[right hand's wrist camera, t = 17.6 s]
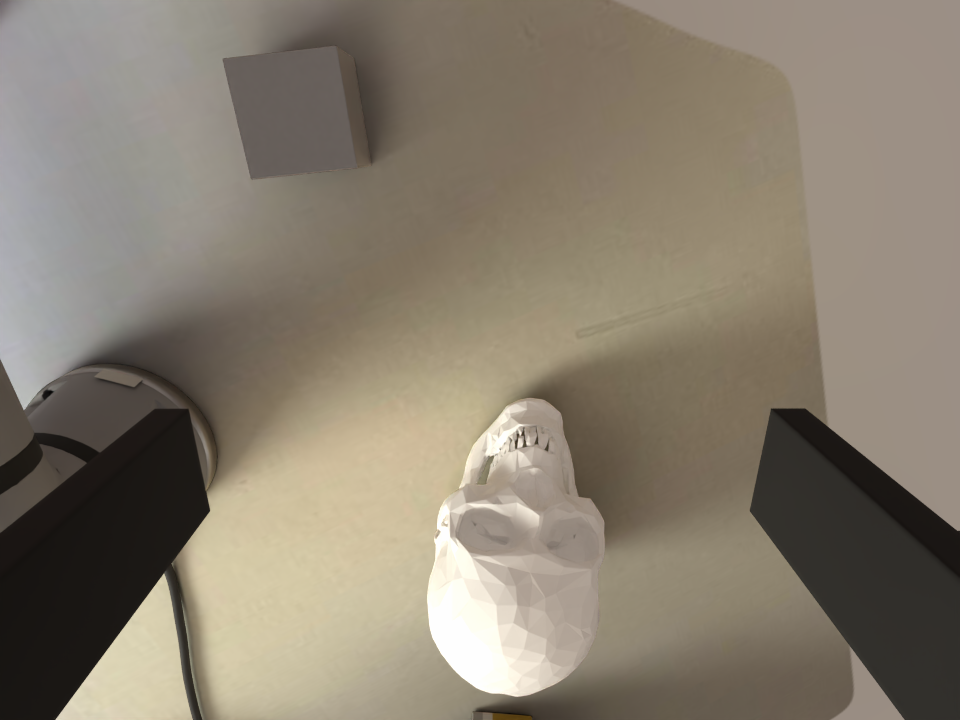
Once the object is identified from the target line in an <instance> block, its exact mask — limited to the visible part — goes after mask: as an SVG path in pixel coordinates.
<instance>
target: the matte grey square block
mask: <svg viewBox="0 0 960 720" xmlns="http://www.w3.org/2000/svg"><path fill="white" fill-rule="evenodd" d="M223 63H224V67H225V71H226V75H227V80H228V84H229V88H230V92H231V96H232V101H233V105H234V109H235V113H236V117H237V122H238V126H239V130H240V134H241V139H242V143H243V147H244V151H245V155H246V160H247V164H248V168H249V172H250V176H251V179H252V180H253V179H262V178H272V177H281V176H290V175H299V174H309V173H318V172H327V171H336V170H346V169H355V168H361V167H367V166H371V159H370V153H369V147H368V140H367V134H366V128H365V122H364V116H363V110H362V103H361V97H360V91H359V85H358V79H357V72H356V66H355V60H354V58H353V57H352V56H350V55H349V54H348V53H346V52H345V51H343V50H342V49H340V48H339V47H338V46H336V45H335V46H326V47H318V48H309V49H301V50H292V51H284V52H275V53H267V54H258V55H249V56H241V57H232V58H224V59H223Z"/></svg>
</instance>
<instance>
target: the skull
mask: <svg viewBox="0 0 960 720" xmlns="http://www.w3.org/2000/svg"><path fill="white" fill-rule="evenodd" d="M536 429H537V433H536ZM524 430H525V435H526V436H525V440H526V444H527V447H523V442H524V436H521V434H522V432H523V431H524ZM529 432H530V433H529ZM517 434H519V435H520V436H519V438H518V446H517V449H515V441H516V440H517ZM537 434H538V445H537V444H536V445H534V444H535V441H536V438H537ZM511 439H512V442H511ZM548 440H549V448H548V451H546V450H544V449H545V448H546V446H547V443H548ZM510 442H511V444H510ZM493 455H495V456H494V460H493V462H492V463H491V466H490V469H489V475H488V477H487V481H486V484H483V485H477V482H478V481H479V479H480V478H481V476H482V473H483V471H484V468H485V466H486V464H487V461H488V459H489V457H490V456H493ZM445 516H446V518H445V519H444V517H445ZM443 519H444V521H443ZM604 523H605V522H604V520H603V518H602V516H601V514H600V512H599V511H598V509H597V508H596V506H595V505H594V503H593V502H592V500H591V499H590V498H583V497H578V493H577V489H576V485H575V478H574V468H573V463H572V458H571V454H570V450H569V446H568V444H567V441H566V439H565V436H564V431H563V421H562V416H561V413H560V412H559V411H558V410H557V409H556V408H554V407H553V406H552V405H551V404H550V403H548V402H547V401H545V400H543V399H535V398H525V399H520V400H517V401H515V402H513V403H511V404H509V405H507V406H506V408H505V409H504V410H503V411H502V413H501V414H500V415H499V417H498V418H497V419H496V420H495V421H494V422H493V423H492V425H491V426H490V427H489V428H488V429H487V430H486V431H485V432H484V433H483V434H482V435H481V436H480V438H479V439H478V440H477V441H476V442H475V444H474V445H473V447H472V449H471V451H470V454H469V456H468V459H467V462H466V467H465V472H464V477H463V479H462V482H461V484H460V487H459V489H458V490H457V491H455V492H453V493H452V494H451V495H450V496H449V497H448V498H447V499H446V500H445V501H444V503H443V505H442V506H441V508H440V511H439V515H438V518H437V528H438V529H437V531H436V532H435V534H434V539H435V543H436V560H435V563H434V566H433V570H432V573H431V576H430V579H429V587H428V595H427V603H428V614H429V624H430V630H431V634H432V637H433V639H434V641H435V643H436V645H437V647H438V648H439V650H440V652H441V654H442V655H443V656H444V658H445V659H446V660H447V662H448V663H449V664H450V665H451V667H452V668H453V669H454V670H455V671H456V672H457V673H458V674H459V675H460V676H461V677H462V678H463V679H465V680H466V681H468V682H469V683H470V684H472V685H473V686H475V687H476V688H478V689H479V690H482V691H486V692H489V693H497V694H507V695H511V696H516V697H518V696H525V695H530V694H533V693H535V692H538V691H541V690H543V689H545V688H547V687H550V686H552V685H554V684H556V683H558V682H560V681H561V680H563V679H564V678H566V677H567V676H568V675H569V674H570V673H571V672H572V671H573V670H574V669H576V668H577V667H578V665H579V664H580V663H581V662H582V661H583V660H584V658H585V657H586V656H587V654H588V652H589V649H590V647H591V645H592V643H593V641H594V639H595V636H596V632H597V628H598V624H599V616H600V615H599V599H598V572H599V568H600V566H601V564H602V562H603V559H604V553H605V537H604Z"/></svg>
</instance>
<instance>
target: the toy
mask: <svg viewBox="0 0 960 720" xmlns="http://www.w3.org/2000/svg"><path fill="white" fill-rule="evenodd" d="M472 720H532V716H524V715H512V714H499V713H487V712H474V711H473V714H472Z"/></svg>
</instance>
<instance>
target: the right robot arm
mask: <svg viewBox="0 0 960 720" xmlns="http://www.w3.org/2000/svg"><path fill="white" fill-rule="evenodd" d="M216 464H217V453H216V446H215V441H214V437H213V434H212V432H211V429H210V427H209V425H208V423H207V421H206V419H205V418H204V416H203V415H202V413H201V412H200V410H199V409H198V408H197V407H196V405H195V404H194V403H193V402H192V401H191V400H190V399H189V398H188V397H187V396H186V395H185V394H184V393H183V392H182V391H180V390H179V389H178V388H176V387H175V386H174V385H172V384H171V383H169V382H168V381H166V380H164V379H162V378H161V377H159V376H157V375H154V374H152V373H150V372H147V371H145V370H142V369H139V368H135V367H131V366H126V365H120V364H95V365H89V366H85V367H81V368H78V369H76V370H73V371H71V372H69V373H67V374H65V375H63V376H62V377H60V378H58V379H56V380H54V381H53V382H51V383H49V384H48V385H46V386H45V387H44V388H43V389H41V390H40V391H39V392H38V393H37V395H36V396H35V397H34V398H33V400H32V401H31V402H30V403H29V405H28V406H27V408H26V409H25V410H23V408H22V406H21V403H20V401H19V399H18V397H17V395H16V393H15V390H14V388H13V386H12V384H11V382H10V380H9V377H8V375H7V373H6V371H5V369H4V366H3V364H2V362H1V360H0V720H55V719H56V718H57V717H58V715H59V714H60V713H61V711H62V710H63V709H64V707H65V706H66V705H67V703H68V702H69V701H70V699H71V698H72V696H73V695H74V694H75V692H76V691H77V690H78V688H79V687H80V686H81V684H82V683H83V682H84V680H85V679H86V678H87V676H88V675H89V674H90V672H91V671H92V670H93V668H94V667H95V665H96V664H97V663H98V661H99V660H100V659H101V657H102V656H103V655H104V653H105V652H106V651H107V649H108V648H109V647H110V645H111V644H112V643H113V641H114V640H115V638H116V637H117V636H118V634H119V633H120V632H121V630H122V629H123V628H124V626H125V625H126V624H127V622H128V621H129V620H130V618H131V617H132V616H133V614H134V613H135V612H136V610H137V609H138V607H139V606H140V605H141V603H142V602H143V601H144V599H145V598H146V597H147V595H148V594H149V593H150V591H151V590H152V589H153V587H154V586H155V585H156V583H157V582H158V581H159V579H160V578H161V576H162V575H163V574H164V573H165V576H166V579H167V582H168V586H169V590H170V595H171V600H172V606H173V612H174V618H175V624H176V629H177V635H178V641H179V648H180V657H181V665H182V673H183V679H184V684H185V689H186V694H187V698H188V702H189V707H190V710H191V714H192V718H193V720H202V717H201V714H200V710H199V706H198V702H197V698H196V694H195V689H194V684H193V679H192V673H191V666H190V658H189V649H188V640H187V633H186V627H185V622H184V616H183V609H182V603H181V597H180V591H179V587H178V582H177V579H176V575H175V572H174V569H173V567H172V564H171V563H172V562H173V560H174V559H175V558H176V556H177V555H178V554H179V552H180V551H181V549H182V548H183V547H184V545H185V544H186V543H187V541H188V540H189V539H190V537H191V536H192V535H193V533H194V532H195V531H196V529H197V528H198V527H199V525H200V524H201V523H202V521H203V520H204V518H205V517H206V516H207V514H208V513H209V512H210V508H209V503H208V498H207V493H206V491H207V489H208V487H209V486H210V484H211V482H212V480H213V477H214V474H215V470H216ZM750 512H751V513H752V514H753V516H754V517H755V518H756V520H757V521H758V523H759V524H760V525H761V527H762V528H763V529H764V531H765V532H766V533H767V535H768V536H769V537H770V539H771V540H772V541H773V543H774V544H775V545H776V547H777V548H778V549H779V551H780V552H781V554H782V555H783V556H784V558H785V559H786V560H787V562H788V563H789V564H790V566H791V567H792V568H793V570H794V571H795V572H796V574H797V575H798V576H799V578H800V579H801V581H802V582H803V583H804V585H805V586H806V587H807V589H808V590H809V591H810V593H811V594H812V595H813V597H814V598H815V599H816V601H817V602H818V603H819V605H820V606H821V607H822V609H823V610H824V612H825V613H826V614H827V616H828V617H829V618H830V620H831V621H832V622H833V624H834V625H835V626H836V628H837V629H838V630H839V632H840V633H841V634H842V636H843V637H844V639H845V640H846V641H847V643H848V644H849V645H850V647H851V648H852V649H853V651H854V652H855V653H856V655H857V656H858V657H859V659H860V660H861V661H862V663H863V664H864V665H865V667H866V668H867V670H868V671H869V672H870V674H871V675H872V676H873V678H874V679H875V680H876V682H877V683H878V684H879V686H880V687H881V688H882V690H883V691H884V692H885V694H886V695H887V696H888V698H889V699H890V701H891V702H892V703H893V705H894V706H895V707H896V709H897V710H898V711H899V713H900V714H901V715H902V717H903V718H904V719H905V720H960V531H957V530H955V529H954V528H953V527H952V526H950V525H949V524H948V523H947V522H945V521H944V520H943V519H942V518H941V517H939V516H938V515H937V514H936V513H934V512H933V511H932V510H931V509H929V508H928V507H927V506H926V505H924V504H923V503H922V502H921V501H919V500H918V499H917V498H916V497H914V496H913V495H912V494H911V493H909V492H908V491H907V490H906V489H904V488H903V487H902V486H901V485H900V484H898V483H897V482H896V481H895V480H893V479H892V478H891V477H890V476H888V475H887V474H886V473H885V472H883V471H882V470H881V469H880V468H878V467H877V466H876V465H875V464H873V463H872V462H871V461H870V460H868V459H867V458H866V457H865V456H863V455H862V454H861V453H860V452H858V451H857V450H856V449H855V448H854V447H852V446H851V445H850V444H849V443H847V442H846V441H845V440H844V439H842V438H841V437H840V436H839V435H837V434H836V433H835V432H834V431H832V430H831V429H830V428H829V427H827V426H826V425H825V424H824V423H822V422H821V421H820V420H819V419H817V418H816V417H815V416H814V415H813V414H811V413H810V412H809V411H808V410H806V409H771V412H770V417H769V422H768V426H767V431H766V436H765V441H764V446H763V450H762V455H761V460H760V465H759V469H758V474H757V479H756V484H755V489H754V493H753V498H752V503H751V508H750Z"/></svg>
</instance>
